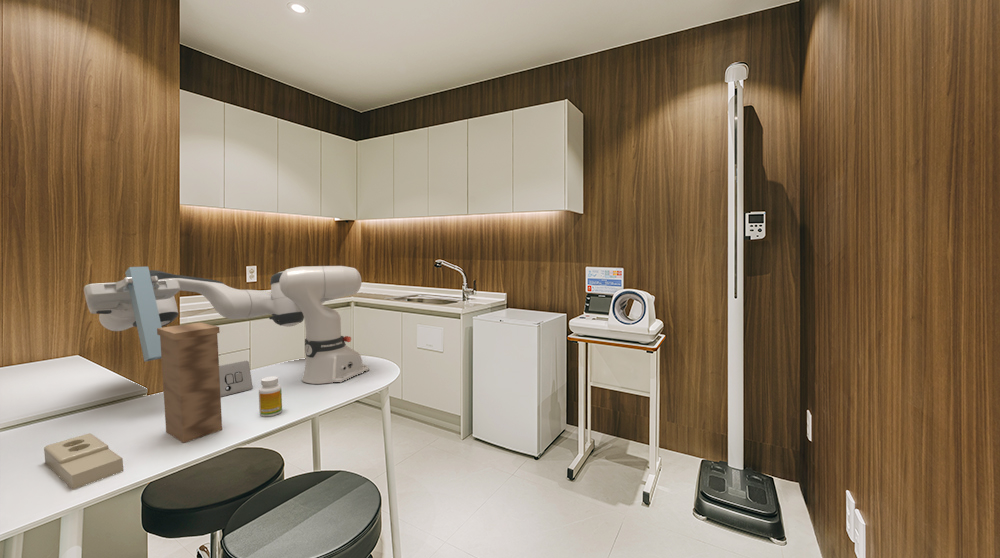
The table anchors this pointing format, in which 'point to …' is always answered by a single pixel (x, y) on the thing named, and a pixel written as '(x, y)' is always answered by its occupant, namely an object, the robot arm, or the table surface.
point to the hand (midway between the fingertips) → (142, 278)
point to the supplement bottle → (270, 397)
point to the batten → (145, 312)
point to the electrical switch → (235, 378)
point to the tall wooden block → (191, 380)
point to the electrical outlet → (82, 460)
